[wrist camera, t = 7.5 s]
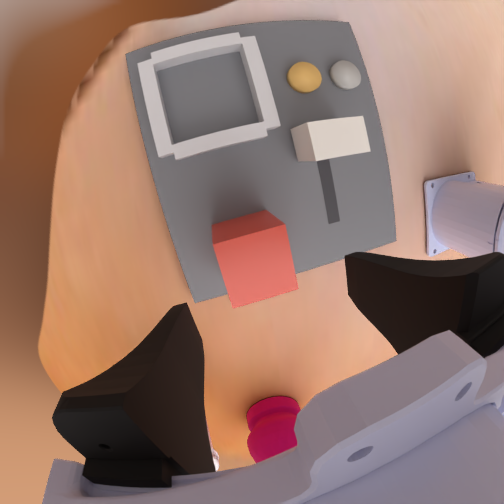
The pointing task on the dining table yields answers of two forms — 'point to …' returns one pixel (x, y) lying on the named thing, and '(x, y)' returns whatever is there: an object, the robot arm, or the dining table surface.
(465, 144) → the dining table surface
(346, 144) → the block
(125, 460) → the robot arm
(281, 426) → the pepper mill
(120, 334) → the dining table surface
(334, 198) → the panel
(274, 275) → the cap
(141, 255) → the dining table surface
